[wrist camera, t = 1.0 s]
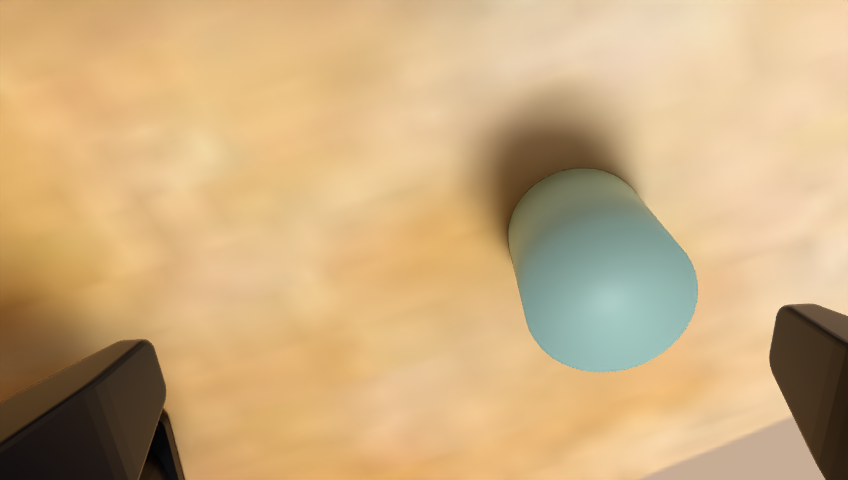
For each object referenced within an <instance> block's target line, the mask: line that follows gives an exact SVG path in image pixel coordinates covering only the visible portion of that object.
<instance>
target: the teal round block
mask: <svg viewBox="0 0 848 480" xmlns="http://www.w3.org/2000/svg"><path fill="white" fill-rule="evenodd" d="M508 245H509V250H510V254H511V258H512V263H513V267H514V271H515V275H516V279H517V284H518V288H519V292H520V296H521V301H522V305H523V309H524V313H525V318H526V322H527V325H528V327H529V330H530V332H531V334H532V336H533V338H534V340H535V341H536V342H537V343H538V345H539V346H540V347H541V348H542V349H543V350H544V351H545V352H546V353H547V354H548V355H550V356H551V357H552V358H554V359H555V360H557V361H559V362H561V363H562V364H565V365H567V366H570V367H572V368H576V369H579V370H584V371H590V372H614V371H620V370H625V369H629V368H632V367H636V366H638V365H641V364H643V363H646V362H648V361H650V360H651V359H653V358H655V357H657V356H658V355H660V354H661V353H663V352H664V351H665V350H667V349H668V348H669V347H670V346H671V345H672V344H673V343H674V342H675V341H676V340H677V339H678V338H679V337H680V336H681V334H682V333H683V332H684V330H685V329H686V327H687V326H688V324H689V322H690V320H691V318H692V316H693V313H694V311H695V307H696V303H697V295H698V284H697V277H696V273H695V270H694V267H693V265H692V262H691V261H690V259H689V257H688V256H687V254H686V253H685V252H684V250H683V249H682V248H681V247H680V246H679V244H678V243H677V242H676V241H675V240H674V238H673V237H672V236H671V235H670V234H669V232H668V231H667V230H666V229H665V228H664V226H663V225H662V224H661V223H660V222H659V220H658V219H657V218H656V217H655V216H654V214H653V213H652V212H651V211H650V210H649V208H648V207H647V206H646V205H645V204H644V202H643V201H642V200H641V199H640V198H639V196H638V195H637V194H636V193H635V192H634V190H633V189H632V188H631V187H630V186H629V185H628V184H627V183H626V182H624V181H623V180H622V179H620V178H618V177H617V176H615V175H613V174H611V173H608V172H605V171H602V170H598V169H592V168H575V169H568V170H564V171H560V172H557V173H554V174H552V175H550V176H548V177H546V178H544V179H542V180H541V181H539V182H538V183H536V184H535V185H534V186H533V187H531V188H530V189H529V190H528V191H527V192H526V193H525V194H524V195H523V197H522V198H521V199H520V201H519V202H518V204H517V205H516V207H515V209H514V211H513V214H512V216H511V219H510V223H509V228H508Z"/></svg>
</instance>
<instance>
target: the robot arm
mask: <svg viewBox="0 0 848 480" xmlns="http://www.w3.org/2000/svg"><path fill="white" fill-rule="evenodd" d="M769 359H770V367H771V370H772V373H773V375H774V377H775V379H776V382H777V384H778V386H779V388H780V390H781V392H782V394H783V396H784V398H785V400H786V402H787V404H788V407H789V409H790V411H791V413H792V415H793V417H794V419H795V421H796V423H797V425H798V427H799V430H800V432H801V434H802V436H803V438H804V440H805V442H806V444H807V446H808V448H809V450H810V452H811V454H812V456H813V458H814V460H815V462H816V464H817V466H818V467H819V469H820V471H821V473H822V474H823V476H824V478H825V479H826V480H848V316H846V315H843V314H841V313H838V312H835V311H832V310H830V309H827V308H824V307H822V306H819V305H816V304H792V305H784V306H783V307H782V308H780V309H779V311H778V313H777V316H776V321H775V327H774V332H773V338H772V343H771V349H770V356H769ZM165 398H166V385H165V381H164V378H163V375H162V371H161V368H160V365H159V362H158V358H157V355H156V352H155V349H154V346H153V345H152V343H151V342H149V341H148V340H146V339H137V340H122V341H118V342H116V343H114V344H112V345H110V346H108V347H107V348H105V349H103V350H101V351H99V352H97V353H95V354H93V355H91V356H89V357H87V358H85V359H83V360H81V361H79V362H77V363H75V364H74V365H72V366H70V367H68V368H66V369H64V370H62V371H60V372H58V373H56V374H54V375H52V376H50V377H48V378H46V379H44V380H43V381H41V382H39V383H37V384H35V385H33V386H31V387H29V388H27V389H25V390H23V391H21V392H19V393H17V394H15V395H13V396H11V397H10V398H8V399H6V400H4V401H2V402H0V480H184V478H183V474H182V470H181V466H180V462H179V458H178V454H177V451H176V447H175V443H174V439H173V435H172V431H171V427H170V423H169V420H168V418H167V417H166V416H165V415H164V414H162V413H161V412H162V409H163V406H164V403H165ZM157 424H158V425H157Z"/></svg>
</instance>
